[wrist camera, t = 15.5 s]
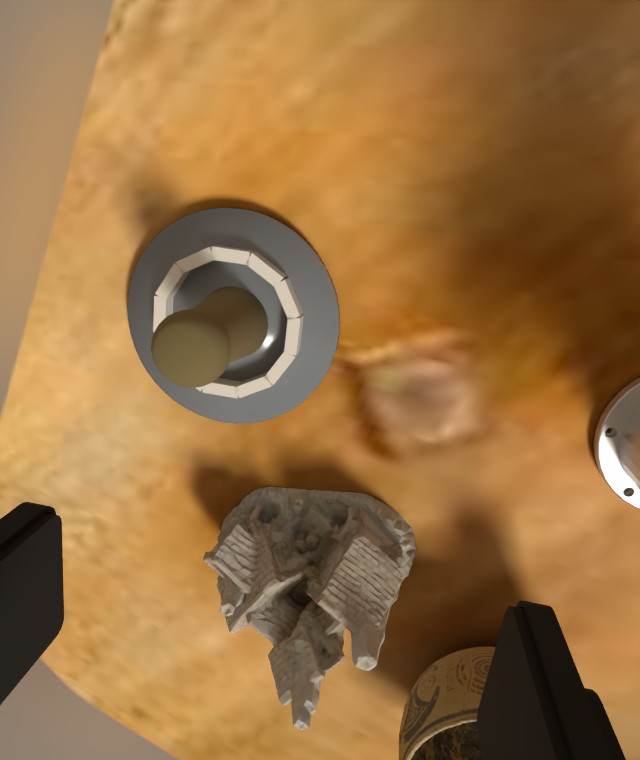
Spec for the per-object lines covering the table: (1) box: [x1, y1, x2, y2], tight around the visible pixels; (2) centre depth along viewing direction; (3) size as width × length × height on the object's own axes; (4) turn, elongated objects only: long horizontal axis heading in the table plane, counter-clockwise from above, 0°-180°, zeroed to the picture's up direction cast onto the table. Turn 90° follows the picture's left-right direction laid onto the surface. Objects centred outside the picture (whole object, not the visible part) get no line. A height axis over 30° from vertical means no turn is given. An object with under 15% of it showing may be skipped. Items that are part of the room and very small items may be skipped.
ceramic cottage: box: [203, 486, 416, 730], centre depth 44 cm, size 16×16×15 cm
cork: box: [151, 286, 268, 388], centre depth 39 cm, size 6×6×11 cm
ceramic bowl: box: [399, 647, 496, 760], centre depth 45 cm, size 22×17×15 cm
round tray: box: [128, 208, 340, 424], centre depth 44 cm, size 18×18×2 cm
